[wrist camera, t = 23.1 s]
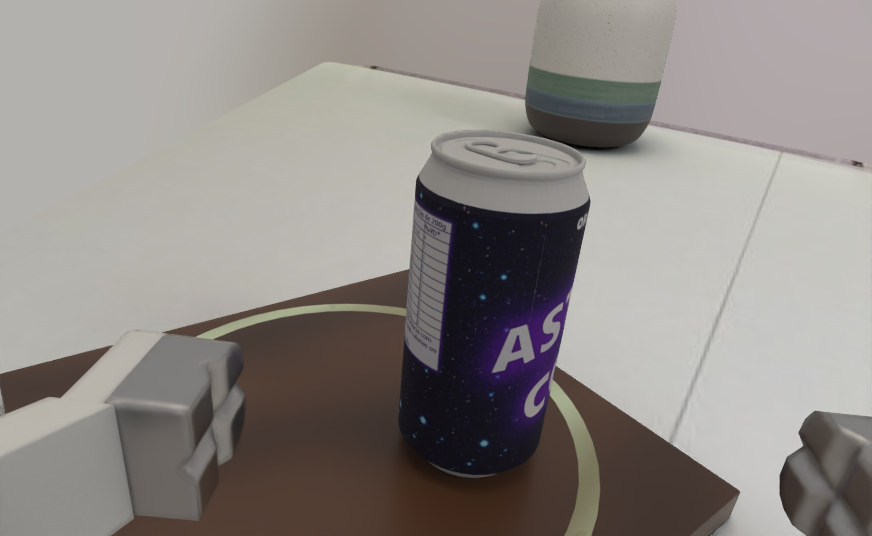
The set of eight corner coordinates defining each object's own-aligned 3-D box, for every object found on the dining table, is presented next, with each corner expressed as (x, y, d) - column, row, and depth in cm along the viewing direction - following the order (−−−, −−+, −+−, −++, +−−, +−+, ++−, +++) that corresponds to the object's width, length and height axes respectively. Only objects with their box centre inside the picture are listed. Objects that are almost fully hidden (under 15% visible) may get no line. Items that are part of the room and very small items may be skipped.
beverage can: (479, 520, 21) (535, 189, 15) (367, 436, 24) (381, 139, 19) (563, 441, 25) (629, 156, 19) (457, 379, 28) (489, 120, 23)
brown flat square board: (5, 401, 26) (-4, 369, 26) (411, 288, 39) (412, 264, 38) (139, 1047, 11) (126, 1015, 10) (729, 518, 24) (742, 486, 23)
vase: (664, 145, 83) (713, -49, 73) (610, 164, 72) (660, -64, 61) (558, 120, 93) (589, -55, 82) (495, 133, 81) (522, -69, 70)
